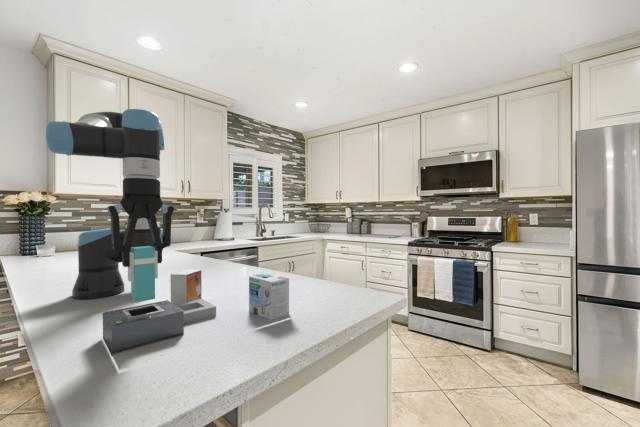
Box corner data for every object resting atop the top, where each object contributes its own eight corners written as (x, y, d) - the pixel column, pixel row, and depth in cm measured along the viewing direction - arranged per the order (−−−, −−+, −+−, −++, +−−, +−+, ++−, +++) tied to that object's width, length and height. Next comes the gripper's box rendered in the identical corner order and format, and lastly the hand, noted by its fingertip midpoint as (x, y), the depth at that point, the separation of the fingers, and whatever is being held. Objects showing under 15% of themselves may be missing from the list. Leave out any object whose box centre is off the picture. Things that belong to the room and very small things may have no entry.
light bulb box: (248, 313, 87) (247, 275, 86) (267, 307, 92) (266, 272, 91) (271, 322, 79) (270, 281, 79) (290, 315, 84) (290, 277, 84)
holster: (166, 316, 84) (166, 306, 83) (201, 308, 90) (201, 298, 90) (178, 327, 76) (178, 315, 76) (216, 317, 83) (216, 306, 83)
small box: (186, 309, 90) (186, 274, 90) (170, 308, 91) (169, 274, 91) (202, 301, 97) (202, 269, 97) (186, 300, 99) (186, 269, 98)
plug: (131, 298, 70) (130, 247, 70) (150, 295, 73) (150, 245, 73) (135, 302, 67) (134, 248, 67) (155, 298, 70) (154, 247, 70)
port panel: (102, 338, 70) (102, 310, 70) (167, 322, 79) (167, 298, 79) (112, 356, 61) (111, 325, 61) (183, 336, 70) (183, 309, 70)
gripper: (98, 174, 61) (99, 288, 61) (185, 179, 73) (186, 275, 73) (93, 177, 67) (94, 282, 67) (175, 182, 78) (176, 271, 78)
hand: (142, 278), depth 70 cm, fingers closed on plug, 4 cm apart
